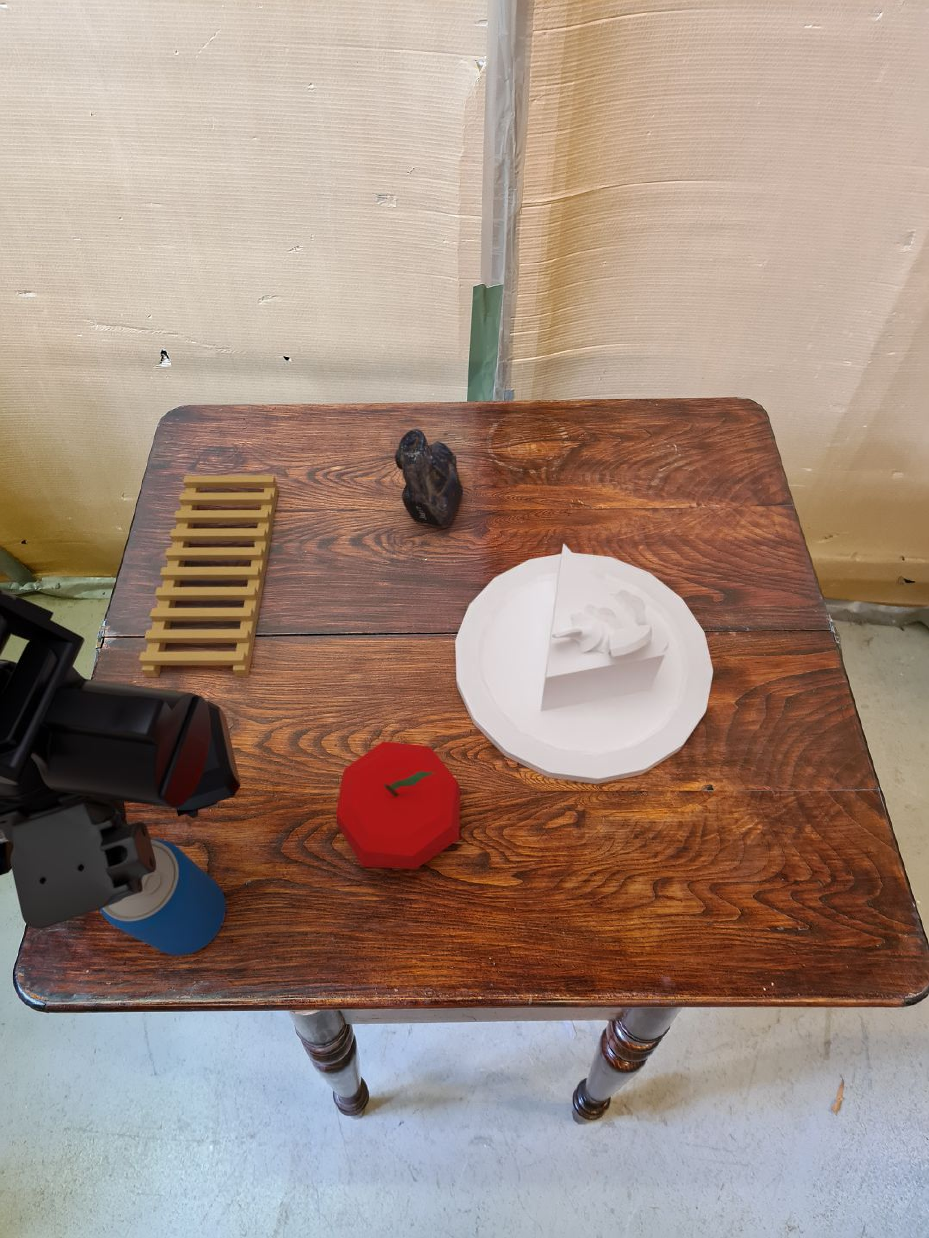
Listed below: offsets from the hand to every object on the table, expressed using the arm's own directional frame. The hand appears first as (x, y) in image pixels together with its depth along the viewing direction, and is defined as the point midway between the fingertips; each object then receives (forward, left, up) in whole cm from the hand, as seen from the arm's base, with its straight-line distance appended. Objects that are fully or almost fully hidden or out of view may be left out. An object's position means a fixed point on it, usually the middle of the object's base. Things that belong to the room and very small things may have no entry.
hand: (129, 832), depth 56 cm
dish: (+40, +9, -13) cm, 43 cm away
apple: (+19, -1, -13) cm, 23 cm away
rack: (+7, +31, -13) cm, 34 cm away
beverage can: (0, -3, -13) cm, 14 cm away
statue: (+32, +32, -13) cm, 47 cm away
